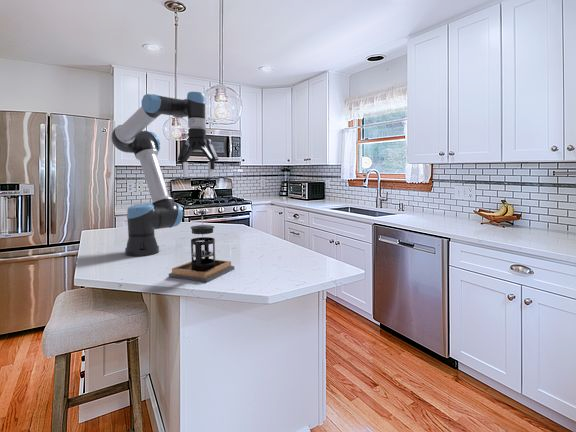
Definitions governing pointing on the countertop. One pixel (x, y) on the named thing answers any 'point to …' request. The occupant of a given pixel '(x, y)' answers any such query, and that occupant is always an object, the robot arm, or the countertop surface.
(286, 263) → the countertop surface
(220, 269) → the rectangular wooden frame
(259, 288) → the countertop surface
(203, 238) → the french press
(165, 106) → the robot arm
